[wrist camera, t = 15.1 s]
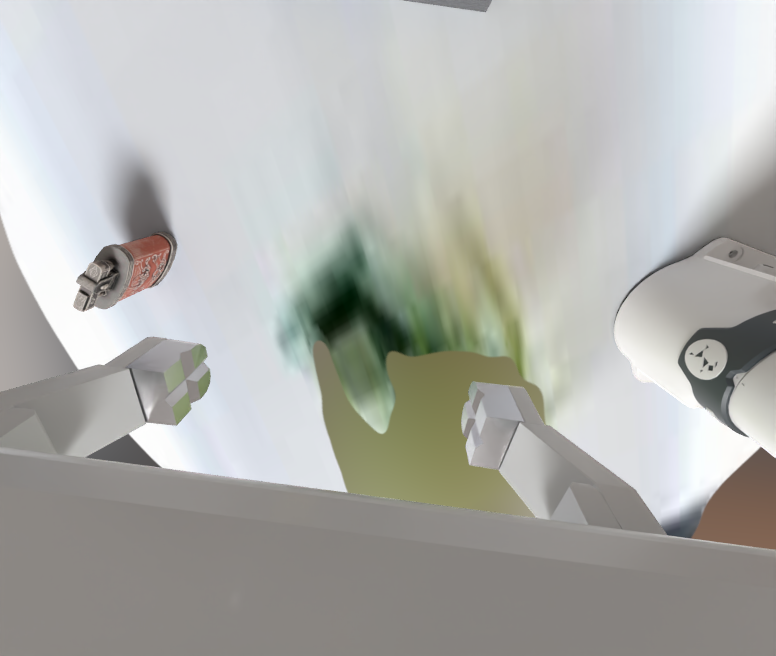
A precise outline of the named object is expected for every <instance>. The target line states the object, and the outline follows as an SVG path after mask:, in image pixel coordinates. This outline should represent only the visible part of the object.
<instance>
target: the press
mask: <svg viewBox="0 0 776 656" xmlns="http://www.w3.org/2000/svg"><path fill="white" fill-rule="evenodd" d="M405 1H412V2H419V3H426V4H433V5H440V6H447V7H454V8H461V9H468V10H475V11H483V12H486V11H487V9H488V7H489V5H490V3H491V1H492V0H405Z"/></svg>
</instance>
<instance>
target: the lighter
mask: <svg viewBox="0 0 776 656" xmlns="http://www.w3.org/2000/svg"><path fill="white" fill-rule="evenodd" d="M176 250H177V243H176V241H175V239H174V238H173V237H172V236H171V235H169V234H168V233H165V232H158V233H154V234H152V235H151V236H150V237H146V238H143V239H139V240H135V241H132V242H128V243H124V244H121V245H117V244H114V245H109V246H106V247H104V248H103V249H102V250H101V251H100V253H99V254H98V255H97V256H96V258H95V260H94V262H92V263H90V264H89V265H88V268H87V270H86V271H85V272H84V273H83V274H81V275H80V276H79V277H78V279H77V281H76V282H77V283H78V284H80V285H81V286H80V288H79V291H78V293H77V296H76V299H75V301H74V305H73V306H74V308H76V309H77V310H79V311H82V312H84V311H87V310H89V309H91V308H93V307H94V306H96V307H98V308H100V309H108V308H110V307H112V306H114V305H115V304H116V303H117V302H118V301H120V300H122V299H125V298H127V297H129V296H131V295H133V294H135V293H137V292H140V291H142V290H144V289H146V288H152V287H154V286H156V285H158V284H159V283H160V282H161V281H162V280H163V279H164V278H165V276H166V275H167V273H168V272H169V270H170V268H171V266H172V263H173V261H174V258H175V254H176Z"/></svg>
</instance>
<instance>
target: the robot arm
mask: <svg viewBox="0 0 776 656" xmlns="http://www.w3.org/2000/svg"><path fill="white" fill-rule="evenodd" d="M731 251H732V252H731ZM730 252H731V254H730V255H729V253H730ZM614 337H615V342H616V344H617V347H618V348H619V350H620V351H621V353H622V354H623V355H624V356H625V357H626V358H627V359H628V360H629V361H630V363H631V368H632V373H633V375H634V377H635V378H636V379H638V380H639V381H641V382H643V383H656V384H657V385H659V386H660V387H662V388H663V389H664V390H666V391H667V392H668V393H670V394H671V395H672V396H674V397H675V398H677V399H678V400H679V401H681V402H682V403H683V404H685V405H686V406H688V407H691V408H696V407H697V408H705V409H706V410H707V411H709V413H710V414H711V415H712V416H713V417H714V418H715V419H717V420H718V421H719V422H721V423H723V424H724V425H727V426H728V427H729V428H731V429H732V430H733V431H735V432H737V433H738V434H741V435H743V436H746V437H750V438H751V439H752V440H754V441H755V442H756V443H757V444H759V445H760V446H761V447H762V448H764V449H765V450H766V451H767V452H769V453H770V454H771V455H772V456H774V457H775V458H776V257H775V256H773V255H770V254H767V253H765V252H762V251H760V250H757V249H755V248H752V247H749V246H747V245H744V244H742V243H739V242H736V241H734V240H731V239H729V238H718V239H716V240H714V241H712V242H710V243H709V244H707V245H706V246H704V247H703V248H702V249H700V250H699V251H698V252H696V253H695V254H694V255H693V256H691V257H689V258H687V259H684V260H682V261H679V262H676V263H674V264H671V265H669V266H667V267H665V268H663V269H661V270H659V271H657V272H655V273H654V274H652V275H651V276H649V277H648V278H646V279H645V280H644V281H643V282H641V283H640V284H639V285H638V286H637V287H636V288H635V289H634V290H633V291H632V292H631V293H630V294H629V296H628V297H627V298H626V300H625V301H624V303H623V304H622V306H621V308H620V310H619V312H618V314H617V317H616V320H615V325H614ZM207 357H208V356H207V352H206V347H205V346H203V345H202V344H198V343H191V342H185V341H179V340H172V339H166V338H158V337H147V338H145V339H144V340H142V341H141V342H139V343H138V344H136V345H135V346H133V347H131V348H130V349H128V350H127V351H125V352H124V353H122V354H121V355H119V356H118V357H116V358H115V359H113V360H111V361H110V362H108V363H107V364H105V365H95V366H92V367H88V368H84V369H81V370H77V371H74V372H70V373H67V374H63V375H59V376H56V377H52V378H49V379H45V380H41V381H38V382H35V383H31V384H27V385H23V386H20V387H16V388H13V389H9V390H6V391H2V392H0V656H776V550H771V549H764V548H757V547H749V546H741V545H733V544H727V543H719V542H711V541H704V540H697V539H689V538H682V537H674V536H667V534H666V533H665V531H664V530H663V529H662V527H661V526H660V524H659V523H658V521H657V520H656V519H655V517H654V516H653V514H652V513H651V511H650V510H649V509H648V507H647V506H646V504H645V503H644V501H643V500H642V499H641V497H640V496H639V494H638V493H637V491H636V490H635V489H634V488H633V487H631V486H630V485H628V484H627V483H626V482H624V481H623V480H622V479H620V478H619V477H618V476H616V475H615V474H614V473H612V472H611V471H610V470H608V469H607V468H606V467H604V466H603V465H602V464H600V463H599V462H598V461H596V460H595V459H594V458H592V457H591V456H590V455H588V454H587V453H586V452H584V451H583V450H582V449H580V448H579V447H578V446H576V445H575V444H574V443H572V442H571V441H570V440H568V439H567V438H566V437H564V436H563V435H561V434H560V433H559V432H557V431H556V430H555V429H553V428H552V427H551V426H548V425H544V423H543V422H542V419H541V417H540V416H539V414H538V412H537V410H536V408H535V406H534V404H533V402H532V401H531V399H530V397H529V395H528V393H527V391H526V389H524V388H523V387H519V386H509V385H498V384H489V383H481V382H472V384H471V385H470V388H469V391H468V393H469V397H470V400H469V401H467V402H466V403H465V404H464V408H463V412H462V421H461V422H462V431H463V435H464V436H465V437H466V438H467V439H468V440H467V443H466V451H467V456H468V460H469V465H473V466H479V467H485V468H491V469H498V470H499V472H500V473H501V474H502V476H503V477H504V478H505V479H506V480H507V482H508V483H509V484H510V485H511V487H512V488H513V489H514V491H515V492H516V493H517V494H518V495H519V496H520V498H521V499H522V500H523V502H524V503H525V504H526V505H527V507H528V508H529V509H530V510H531V512H532V513H533V514H534V515H535V517H536V518H532V517H525V516H517V515H510V514H501V513H494V512H487V511H479V510H472V509H463V508H456V507H449V506H441V505H434V504H426V503H419V502H412V501H405V500H397V499H390V498H382V497H375V496H368V495H360V494H353V493H345V492H338V491H331V490H323V489H316V488H308V487H301V486H293V485H286V484H278V483H270V482H263V481H255V480H248V479H240V478H233V477H225V476H218V475H210V474H203V473H195V472H188V471H180V470H173V469H165V468H158V467H150V466H143V465H135V464H128V463H120V462H112V461H106V460H98V459H91V458H84V457H86V456H88V455H90V454H91V453H93V452H95V451H97V450H99V449H101V448H103V447H104V446H106V445H108V444H110V443H112V442H114V441H115V440H117V439H119V438H121V437H123V436H125V435H126V434H128V433H130V432H132V431H134V430H136V429H137V428H139V427H141V426H143V425H145V424H146V422H148V423H157V424H166V425H176V426H177V425H178V424H179V422H180V421H181V420H182V419H183V418H184V417H185V416H186V415H187V414H188V412H189V411H190V410H191V403H193V402H195V401H197V400H199V399H201V398H202V397H203V395H204V394H205V393H206V392H207V389H208V387H209V384H210V377H211V375H210V369H209V368H208V367H207V365H206V364H205V363H204V361H205V360H206V358H207Z"/></svg>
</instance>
